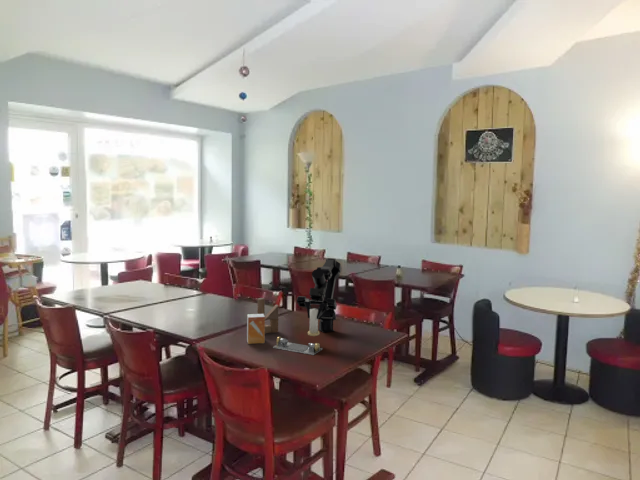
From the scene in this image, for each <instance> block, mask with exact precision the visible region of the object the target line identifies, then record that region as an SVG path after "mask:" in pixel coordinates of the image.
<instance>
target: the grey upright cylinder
mask: <svg viewBox="0 0 640 480" xmlns="http://www.w3.org/2000/svg"><path fill="white" fill-rule="evenodd" d="M317 315H318V308H315V307H313V308H311V309H310V317H309V327H308V329H309V330H308V331H307V335H308V336H309V337H317V336H320V332H321V331H320V330H319V319H317Z"/></svg>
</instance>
